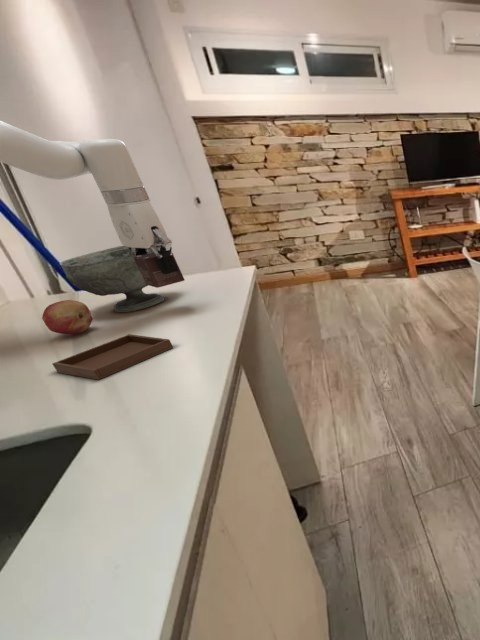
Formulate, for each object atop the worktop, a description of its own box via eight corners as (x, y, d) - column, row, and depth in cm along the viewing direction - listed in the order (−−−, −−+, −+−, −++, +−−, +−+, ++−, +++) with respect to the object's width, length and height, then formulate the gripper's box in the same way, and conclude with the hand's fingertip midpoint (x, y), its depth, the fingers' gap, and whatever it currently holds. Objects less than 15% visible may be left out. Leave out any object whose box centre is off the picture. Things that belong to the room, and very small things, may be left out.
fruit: (66, 342, 107) (46, 309, 103) (46, 339, 109) (25, 307, 106) (107, 327, 114) (89, 296, 110) (86, 325, 116) (68, 294, 112)
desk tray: (99, 379, 89) (93, 370, 88) (57, 372, 93) (51, 363, 92) (173, 347, 100) (169, 339, 99) (133, 342, 104) (129, 334, 104)
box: (185, 281, 118) (173, 252, 115) (156, 288, 114) (142, 259, 111) (175, 278, 121) (162, 250, 118) (146, 285, 117) (132, 256, 114)
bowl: (115, 299, 133) (86, 247, 126) (195, 287, 138) (171, 237, 131) (69, 326, 116) (32, 268, 109) (161, 312, 121) (132, 255, 114)
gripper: (82, 199, 108) (120, 274, 116) (132, 200, 103) (167, 278, 110) (121, 194, 114) (154, 265, 122) (169, 194, 109) (200, 268, 117)
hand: (160, 271), depth 116 cm, fingers closed on box, 6 cm apart
